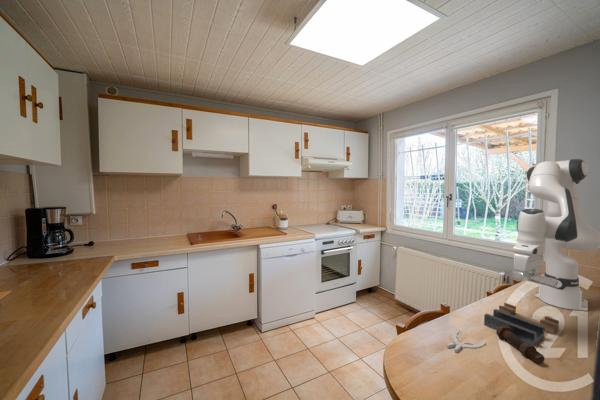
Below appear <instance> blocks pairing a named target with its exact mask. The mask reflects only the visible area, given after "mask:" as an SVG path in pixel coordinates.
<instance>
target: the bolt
mask: <svg viewBox="0 0 600 400" xmlns="http://www.w3.org/2000/svg"><path fill="white" fill-rule="evenodd" d="M495 333H496V334H495V335H497V337H498V338H499V339H500V340H502V341H503V340H505V341H508V342H509V343H511V344H512V345H513V346H514V347H515V348H517V349H518V350H519V352H520V354H521V355H523V356H524V357H525V358H530V359H532V360H533V361H534V362H535V363H537V364H542V363H543V362H545V356H544V355H543V354H542V353H540V352H539V351H538V350H537V348H536V346H534V345H532V344H531V343H525V342H524V341H522V340H521V339H520V338H518V337H517V336H515V335H514V334H513V332H512V330H511V328H510V327H509V326H505V325H502V326H500V327H498V328H497V330H495Z"/></svg>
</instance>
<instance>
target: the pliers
mask: <svg viewBox="0 0 600 400" xmlns="http://www.w3.org/2000/svg"><path fill="white" fill-rule="evenodd" d="M460 331H461V330H460V329H459V330H456V331H453V333H452V337H451V338H452V341H453V342H451V341H450V342H448V343H447V344H446V348H447V349H452V348H454V353H455V354H457V353H458V352H460V351H461V349H479V348H482V347H485V345H486V341H483V342H480V343H477V344H475V343H471V342H464V344H462V339H461V338H460V337H459V336H458V334H459V333H460ZM459 341H460V342H459Z"/></svg>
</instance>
